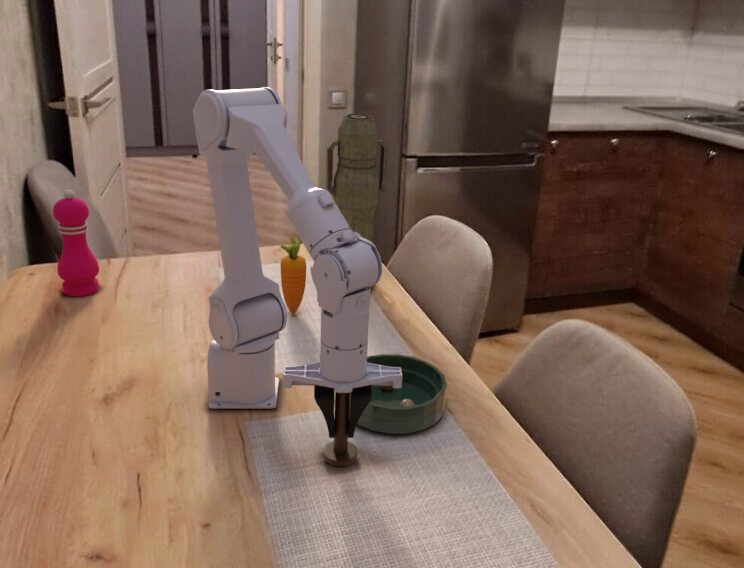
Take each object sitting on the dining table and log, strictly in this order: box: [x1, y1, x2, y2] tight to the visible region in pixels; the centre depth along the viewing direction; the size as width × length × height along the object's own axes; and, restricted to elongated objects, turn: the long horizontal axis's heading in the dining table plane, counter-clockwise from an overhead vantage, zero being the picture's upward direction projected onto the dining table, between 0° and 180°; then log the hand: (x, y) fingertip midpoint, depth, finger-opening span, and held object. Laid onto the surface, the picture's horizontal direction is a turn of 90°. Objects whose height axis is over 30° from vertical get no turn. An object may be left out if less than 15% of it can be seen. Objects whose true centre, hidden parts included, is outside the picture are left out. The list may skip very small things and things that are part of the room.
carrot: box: [279, 235, 307, 315], centre depth 123 cm, size 5×5×15 cm
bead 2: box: [400, 399, 415, 407], centre depth 96 cm, size 2×2×2 cm
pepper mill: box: [52, 189, 100, 297], centre depth 125 cm, size 7×7×20 cm
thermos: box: [325, 113, 389, 289], centre depth 133 cm, size 9×12×35 cm
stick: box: [322, 391, 358, 467], centre depth 84 cm, size 4×4×14 cm
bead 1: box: [381, 386, 393, 391], centre depth 101 cm, size 2×2×2 cm
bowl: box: [349, 353, 448, 435], centre depth 98 cm, size 15×15×4 cm
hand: (340, 433), depth 85 cm, fingers closed on stick, 2 cm apart
